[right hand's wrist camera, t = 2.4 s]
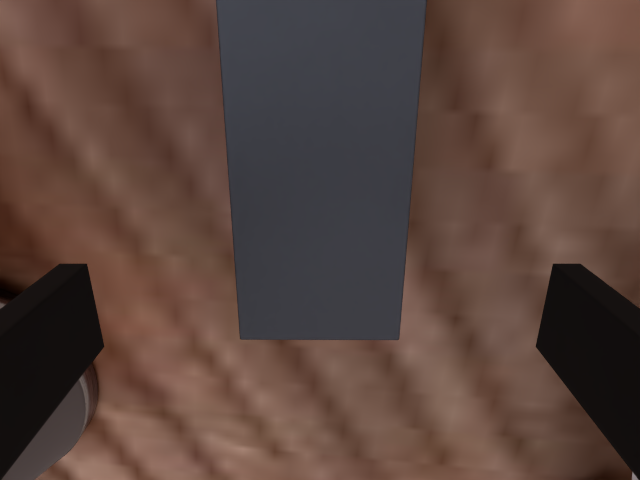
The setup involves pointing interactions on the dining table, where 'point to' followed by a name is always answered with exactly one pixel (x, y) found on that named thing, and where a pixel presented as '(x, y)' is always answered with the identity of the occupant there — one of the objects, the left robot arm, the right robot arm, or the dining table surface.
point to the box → (320, 162)
